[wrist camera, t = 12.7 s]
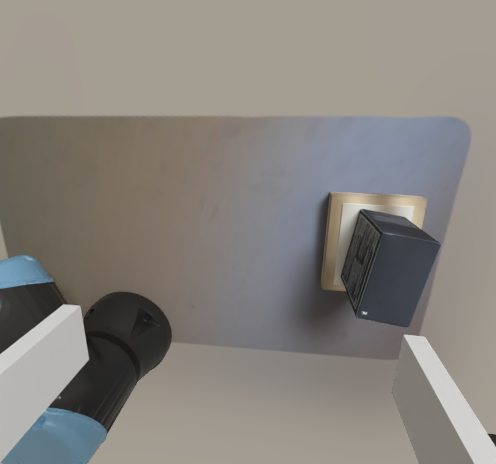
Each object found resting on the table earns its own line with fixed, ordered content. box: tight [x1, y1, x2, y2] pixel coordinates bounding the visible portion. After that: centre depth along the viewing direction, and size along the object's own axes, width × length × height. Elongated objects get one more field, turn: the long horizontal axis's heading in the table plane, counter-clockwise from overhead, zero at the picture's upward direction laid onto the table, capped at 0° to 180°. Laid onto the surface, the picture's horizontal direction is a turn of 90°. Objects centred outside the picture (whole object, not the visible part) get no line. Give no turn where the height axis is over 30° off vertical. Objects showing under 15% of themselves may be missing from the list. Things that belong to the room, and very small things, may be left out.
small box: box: [340, 209, 441, 328], centre depth 39 cm, size 11×6×10 cm, turn 170°
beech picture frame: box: [321, 192, 427, 291], centre depth 45 cm, size 12×14×3 cm
